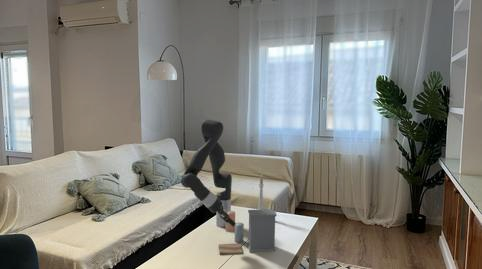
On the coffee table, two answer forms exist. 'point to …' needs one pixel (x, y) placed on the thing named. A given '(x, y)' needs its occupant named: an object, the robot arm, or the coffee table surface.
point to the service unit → (261, 230)
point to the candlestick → (261, 193)
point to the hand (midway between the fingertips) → (233, 222)
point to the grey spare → (239, 232)
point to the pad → (230, 249)
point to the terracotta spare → (228, 226)
